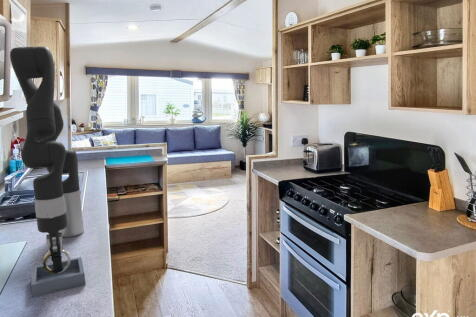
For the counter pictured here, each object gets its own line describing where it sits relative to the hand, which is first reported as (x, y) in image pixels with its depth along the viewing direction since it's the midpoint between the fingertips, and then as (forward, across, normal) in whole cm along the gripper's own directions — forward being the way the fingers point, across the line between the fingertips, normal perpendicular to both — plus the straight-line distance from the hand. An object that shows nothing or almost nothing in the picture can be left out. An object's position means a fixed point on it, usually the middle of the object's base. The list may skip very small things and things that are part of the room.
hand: (58, 270), depth 102 cm
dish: (+3, 0, 0) cm, 3 cm away
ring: (+1, 0, 0) cm, 1 cm away
